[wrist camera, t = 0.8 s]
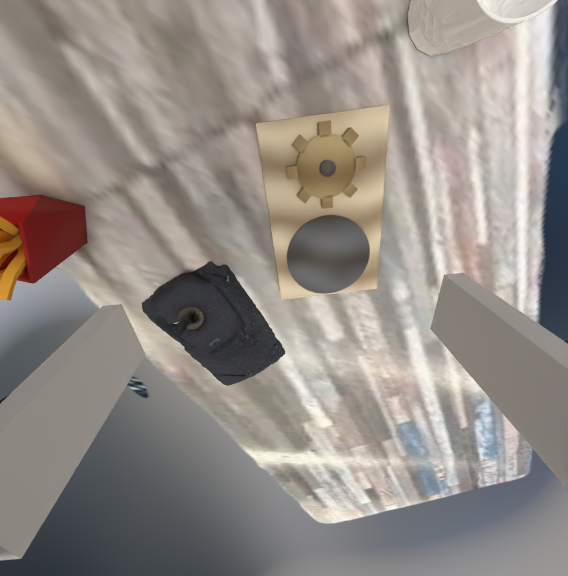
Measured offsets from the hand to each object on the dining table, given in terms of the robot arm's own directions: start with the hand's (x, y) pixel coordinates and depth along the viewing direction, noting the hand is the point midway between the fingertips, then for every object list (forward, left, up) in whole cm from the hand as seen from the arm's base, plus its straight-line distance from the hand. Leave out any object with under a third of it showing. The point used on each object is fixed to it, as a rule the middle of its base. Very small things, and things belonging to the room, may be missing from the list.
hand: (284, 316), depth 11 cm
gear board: (+3, +6, -24) cm, 25 cm away
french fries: (-2, -27, -25) cm, 37 cm away
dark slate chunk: (+19, -12, -25) cm, 33 cm away
